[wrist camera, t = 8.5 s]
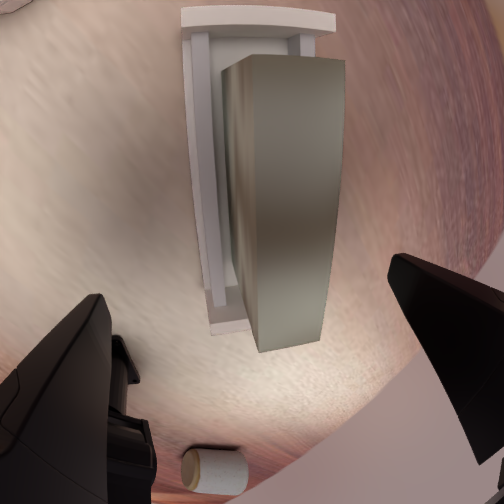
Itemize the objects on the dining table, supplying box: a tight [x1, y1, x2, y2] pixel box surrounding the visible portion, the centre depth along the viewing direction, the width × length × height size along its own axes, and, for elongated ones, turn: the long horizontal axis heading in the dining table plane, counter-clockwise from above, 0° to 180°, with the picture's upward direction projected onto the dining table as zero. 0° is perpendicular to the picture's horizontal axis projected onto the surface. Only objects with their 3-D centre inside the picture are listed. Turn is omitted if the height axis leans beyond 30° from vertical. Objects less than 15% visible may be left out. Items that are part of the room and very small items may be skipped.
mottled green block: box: [221, 54, 345, 353], centre depth 14 cm, size 12×3×8 cm, turn 2°
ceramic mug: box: [181, 448, 249, 495], centre depth 36 cm, size 11×8×8 cm
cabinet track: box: [181, 5, 336, 335], centre depth 17 cm, size 18×7×5 cm, turn 2°
